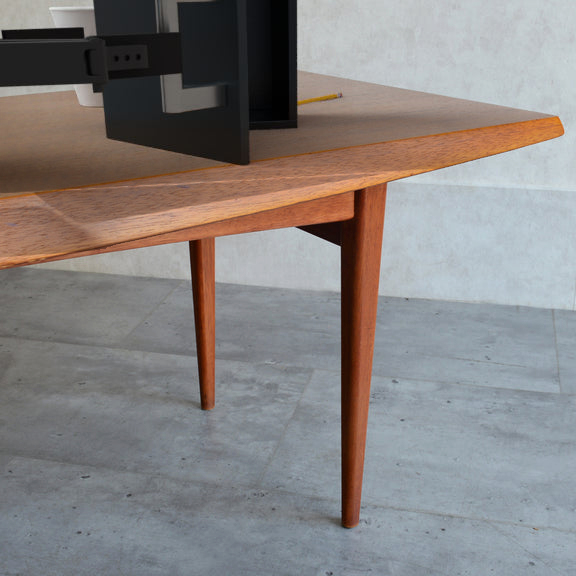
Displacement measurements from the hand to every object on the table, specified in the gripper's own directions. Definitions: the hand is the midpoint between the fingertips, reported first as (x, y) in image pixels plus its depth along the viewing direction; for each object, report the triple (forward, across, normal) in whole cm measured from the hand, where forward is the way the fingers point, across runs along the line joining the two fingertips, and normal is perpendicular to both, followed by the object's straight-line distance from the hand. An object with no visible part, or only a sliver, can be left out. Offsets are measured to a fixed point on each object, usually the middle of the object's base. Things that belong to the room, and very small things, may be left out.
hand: (127, 48), depth 56 cm
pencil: (+42, -22, -10) cm, 49 cm away
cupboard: (+19, -17, -10) cm, 28 cm away
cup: (+21, -42, -10) cm, 48 cm away
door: (+5, -7, -10) cm, 13 cm away
